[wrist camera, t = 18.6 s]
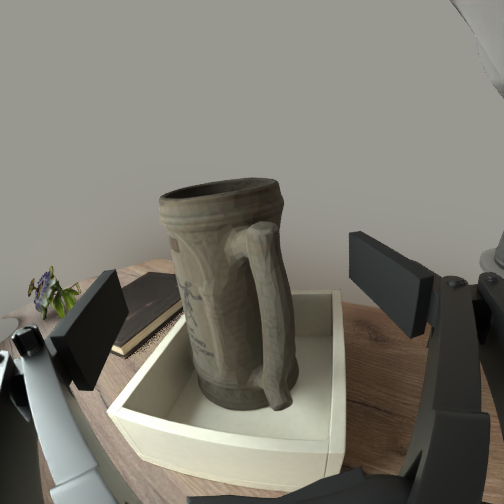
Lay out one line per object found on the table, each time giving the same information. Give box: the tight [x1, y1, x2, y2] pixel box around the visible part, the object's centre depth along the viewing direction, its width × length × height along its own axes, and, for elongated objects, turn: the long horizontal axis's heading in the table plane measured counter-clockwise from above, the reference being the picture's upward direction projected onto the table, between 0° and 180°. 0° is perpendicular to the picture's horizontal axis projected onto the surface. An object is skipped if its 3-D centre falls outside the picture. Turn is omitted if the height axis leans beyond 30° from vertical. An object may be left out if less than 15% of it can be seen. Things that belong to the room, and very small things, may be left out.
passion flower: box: [28, 266, 81, 319], centre depth 48 cm, size 11×11×12 cm
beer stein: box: [159, 178, 299, 411], centre depth 24 cm, size 15×11×20 cm
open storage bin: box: [107, 289, 346, 492], centre depth 26 cm, size 17×21×8 cm
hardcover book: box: [110, 272, 183, 359], centre depth 47 cm, size 16×23×2 cm
